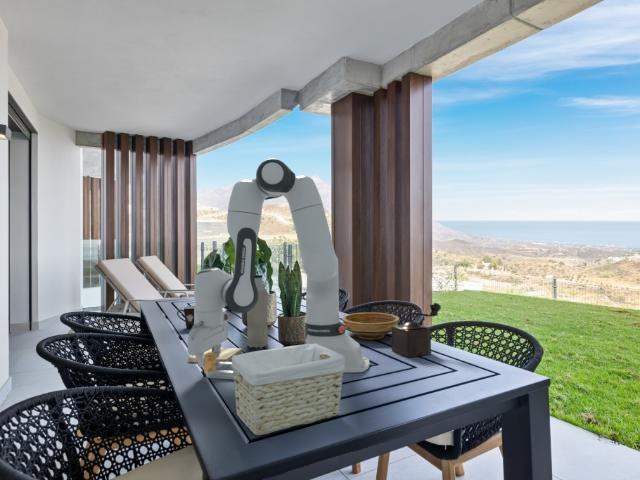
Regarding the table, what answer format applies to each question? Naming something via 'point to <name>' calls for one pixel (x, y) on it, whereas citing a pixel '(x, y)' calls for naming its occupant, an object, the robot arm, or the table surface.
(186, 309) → the coffee mug
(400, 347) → the manual coffee grinder
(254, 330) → the thermos bottle
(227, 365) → the white holder stand
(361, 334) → the ceramic bowl
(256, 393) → the storage basket
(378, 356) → the table surface
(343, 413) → the table surface
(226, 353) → the post
